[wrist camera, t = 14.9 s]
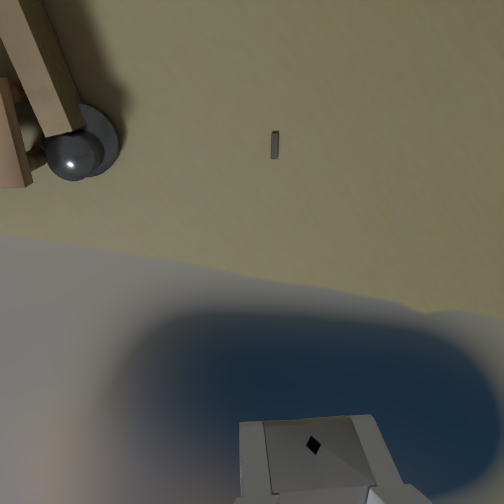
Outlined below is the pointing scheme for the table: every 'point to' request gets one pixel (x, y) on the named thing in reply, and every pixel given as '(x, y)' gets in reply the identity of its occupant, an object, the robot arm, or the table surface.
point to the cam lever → (56, 95)
